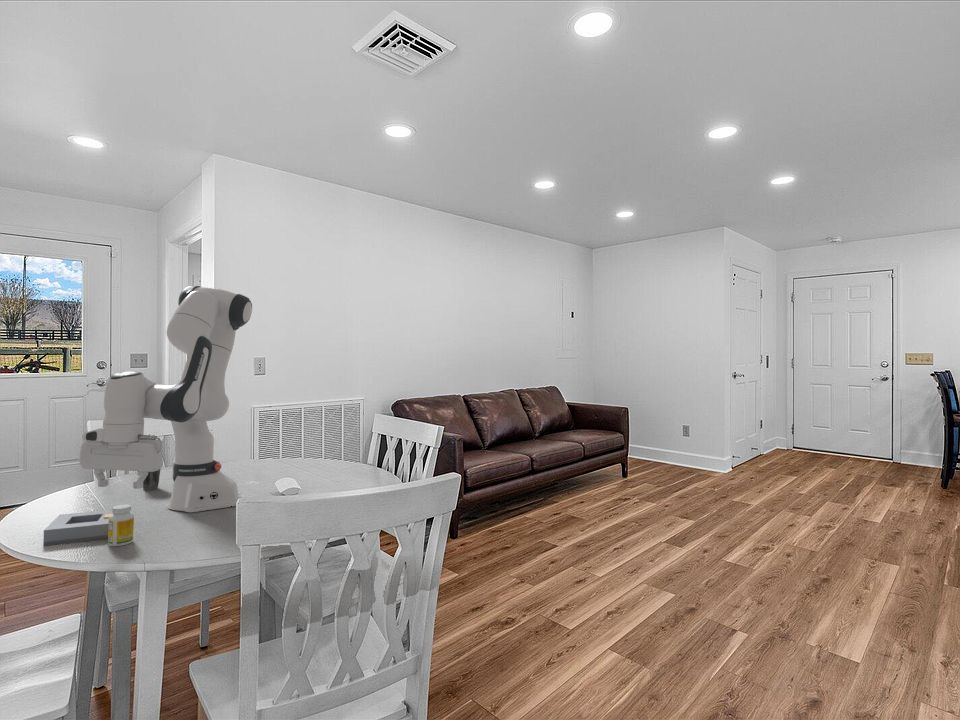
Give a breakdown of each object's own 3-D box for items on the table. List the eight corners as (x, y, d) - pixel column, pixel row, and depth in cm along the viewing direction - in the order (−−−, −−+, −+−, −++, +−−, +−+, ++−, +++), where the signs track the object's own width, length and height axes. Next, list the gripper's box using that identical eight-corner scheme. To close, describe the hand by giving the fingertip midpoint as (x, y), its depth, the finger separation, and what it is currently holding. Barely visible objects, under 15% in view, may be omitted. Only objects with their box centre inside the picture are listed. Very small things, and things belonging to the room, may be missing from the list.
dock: (120, 522, 147) (120, 507, 147) (110, 538, 135) (110, 522, 135) (59, 528, 141) (59, 513, 141) (43, 545, 128) (43, 529, 128)
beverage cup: (167, 486, 188) (168, 433, 188) (152, 491, 180) (153, 435, 180) (148, 485, 188) (150, 432, 188) (133, 490, 181) (134, 435, 181)
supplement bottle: (103, 547, 129) (103, 509, 129) (116, 539, 134) (116, 503, 134) (125, 546, 129) (126, 509, 129) (137, 539, 135) (138, 503, 135)
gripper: (169, 434, 134) (167, 486, 134) (96, 430, 135) (93, 482, 135) (153, 437, 128) (150, 492, 127) (76, 433, 129) (73, 488, 129)
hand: (120, 487), depth 131 cm, fingers open, 8 cm apart
